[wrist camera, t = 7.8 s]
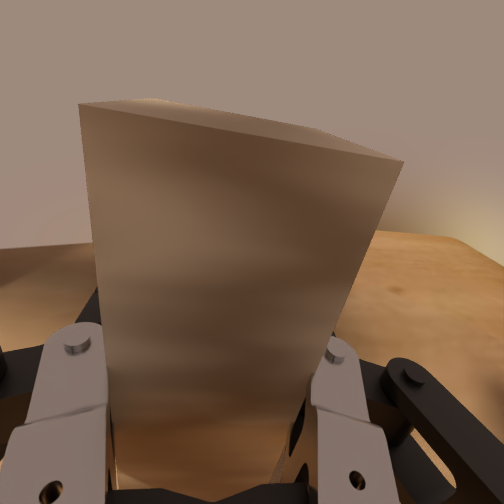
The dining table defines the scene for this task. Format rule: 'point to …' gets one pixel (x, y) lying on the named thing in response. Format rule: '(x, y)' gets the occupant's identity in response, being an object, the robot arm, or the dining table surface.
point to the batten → (218, 280)
